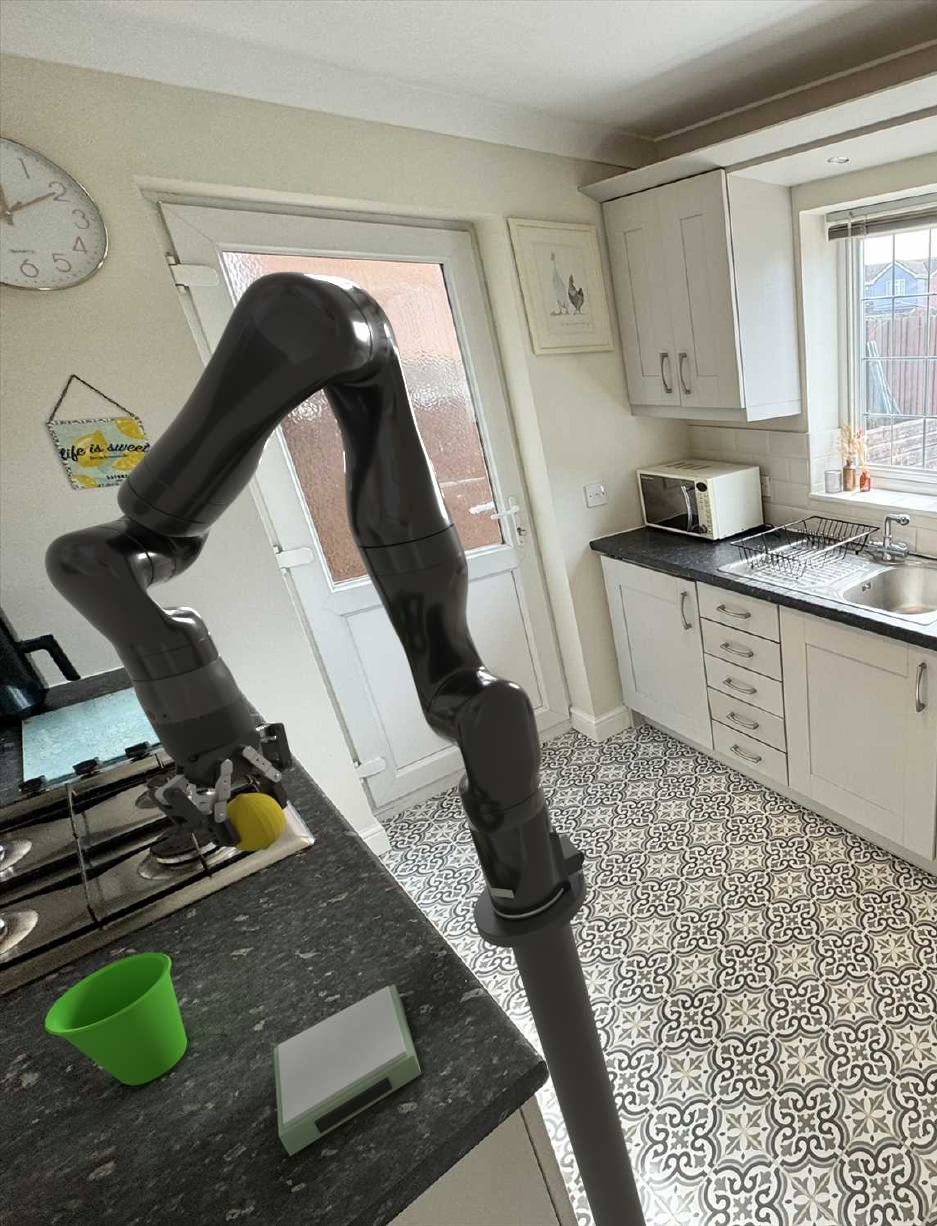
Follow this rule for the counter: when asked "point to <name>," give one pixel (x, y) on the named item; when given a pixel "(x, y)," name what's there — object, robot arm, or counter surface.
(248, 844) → the lemon
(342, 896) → the counter surface
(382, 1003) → the scale
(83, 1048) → the cup
